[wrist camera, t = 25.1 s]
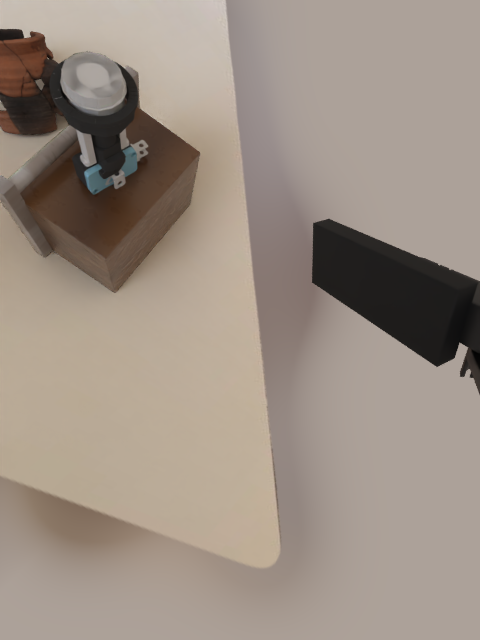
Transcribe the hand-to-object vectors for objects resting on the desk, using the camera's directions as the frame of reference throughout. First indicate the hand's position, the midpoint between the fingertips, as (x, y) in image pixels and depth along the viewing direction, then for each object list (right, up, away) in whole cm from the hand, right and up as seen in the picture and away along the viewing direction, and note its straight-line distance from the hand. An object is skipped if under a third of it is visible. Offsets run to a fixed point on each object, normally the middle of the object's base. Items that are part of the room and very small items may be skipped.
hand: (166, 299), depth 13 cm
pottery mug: (-20, +24, +28) cm, 42 cm away
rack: (-10, +10, +27) cm, 31 cm away
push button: (-8, +12, +19) cm, 24 cm away
